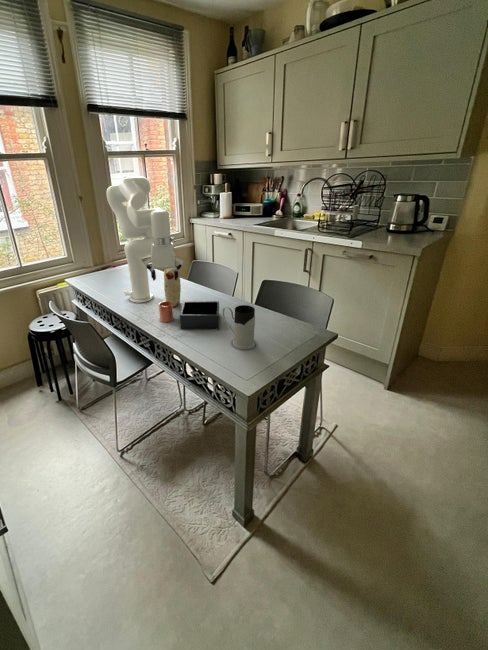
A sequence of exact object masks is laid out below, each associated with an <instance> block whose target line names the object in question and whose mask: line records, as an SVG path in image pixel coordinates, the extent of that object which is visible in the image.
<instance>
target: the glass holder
mask: <svg viewBox="0 0 488 650" xmlns="http://www.w3.org/2000/svg"><path fill="white" fill-rule="evenodd" d="M226 309H228V310H229V311H230V313H231V315H230V316H231V319H232V320H233V328H232V327H231V326H230V325H229V323H228V321H227V319H226V316H225V315H226V314H225V310H226ZM222 318H223V321H224V323H225V325H226V326H227V328H228V329H229V330H230V331H231V332H232V334H233V340H232V345H233V347H235V348H236V349H240V350H251V349H253V348H254V347H255V346H256V343H255V327H256V325H255V324H256V308H255V307H254V306H252V305H247V304H241V305H240V304H239V305H237V306H235V307H234V313H233V310H232V308H231V307H230V306H225V307H224V308H223V309H222Z"/></svg>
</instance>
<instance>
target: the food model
mask: <svg viewBox="0 0 488 650" xmlns="http://www.w3.org/2000/svg"><path fill="white" fill-rule="evenodd" d="M174 271H175V270H174V269H173V268H172V267H170V268H165V269H164V270H163V289H164V297H165V301H169V302H172V308H173V307H176V306H179V305H180V303H181V292H182V291H181V289H182V286H181V276H180V275H181V274H180V269H179V270H178V278H177V280H175V277H174Z"/></svg>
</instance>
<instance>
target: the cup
mask: <svg viewBox="0 0 488 650" xmlns="http://www.w3.org/2000/svg"><path fill="white" fill-rule="evenodd" d="M173 310H174V309H173V307H172V302H169V301H166V300H163V301H161V302H159V303H158V312H159V313H158V314H159V321H160V322H161V323H171V322H172V321H173V320H174V312H173Z"/></svg>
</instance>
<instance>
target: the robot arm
mask: <svg viewBox="0 0 488 650" xmlns="http://www.w3.org/2000/svg"><path fill="white" fill-rule="evenodd" d="M150 193H151V183H150V181H149V180H148V178H147V177H145V176H129V177H123V178H122V179H120V181H119V183H118V184H113V185H110V186H109V187H107V188H106V199H107V203H108V205H109V207H110V209H111V210H112V212H113V213H114V215H115V218H116V220H117V223H118V226H119V229H120V232H121V235H122V237H123V238H124V240H128V242H126V243H125V244H124V248H123V249H124V250H123V251H124V254H125V258H126V261H127V267H128V273H129V282H130V288H131V290H124V295H125V296H126V297H127V296H129V301H131V303H139V304H140V303H146V302H149V301H151V300H153V298H154V295H153V293H151V292H150V281H149V273H148V271H149V272H150V275H151V279H152V281H153V282H154V281H156V279H157V275H156V269H158V268H159V269H163V268H165V269H169V268H173V269H174V270H175V271H174V277H175V280H177V278H178V270H179V271H180V269H181V268H182V266H183V265H184V262H185V260H183V258H180V257H178V256H176V251H175V250H176V249H175V245H174V243H173V242H175V237H172V235H171V224H170V223H171V222H170V213H169V211H168V210H166V209H162V208H161V207H152V208H143V207H144V206H146V203H148V195H149V194H150ZM125 203H127V204H125ZM145 258H147V259H146V260H144V261H143V259H145ZM177 262H178V263H179V264H178V265H177V264H176V263H177ZM149 263H151V264H149Z"/></svg>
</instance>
